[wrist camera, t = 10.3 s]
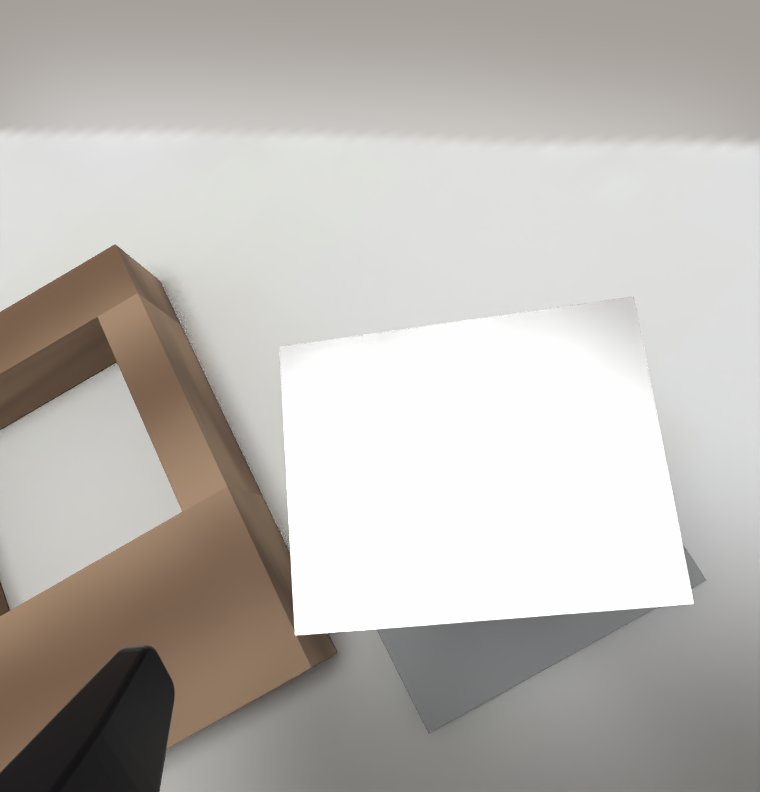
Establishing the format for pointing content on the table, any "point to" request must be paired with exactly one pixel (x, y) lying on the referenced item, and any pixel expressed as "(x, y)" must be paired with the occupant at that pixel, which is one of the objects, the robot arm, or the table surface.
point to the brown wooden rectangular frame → (160, 547)
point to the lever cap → (478, 473)
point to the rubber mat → (492, 654)
